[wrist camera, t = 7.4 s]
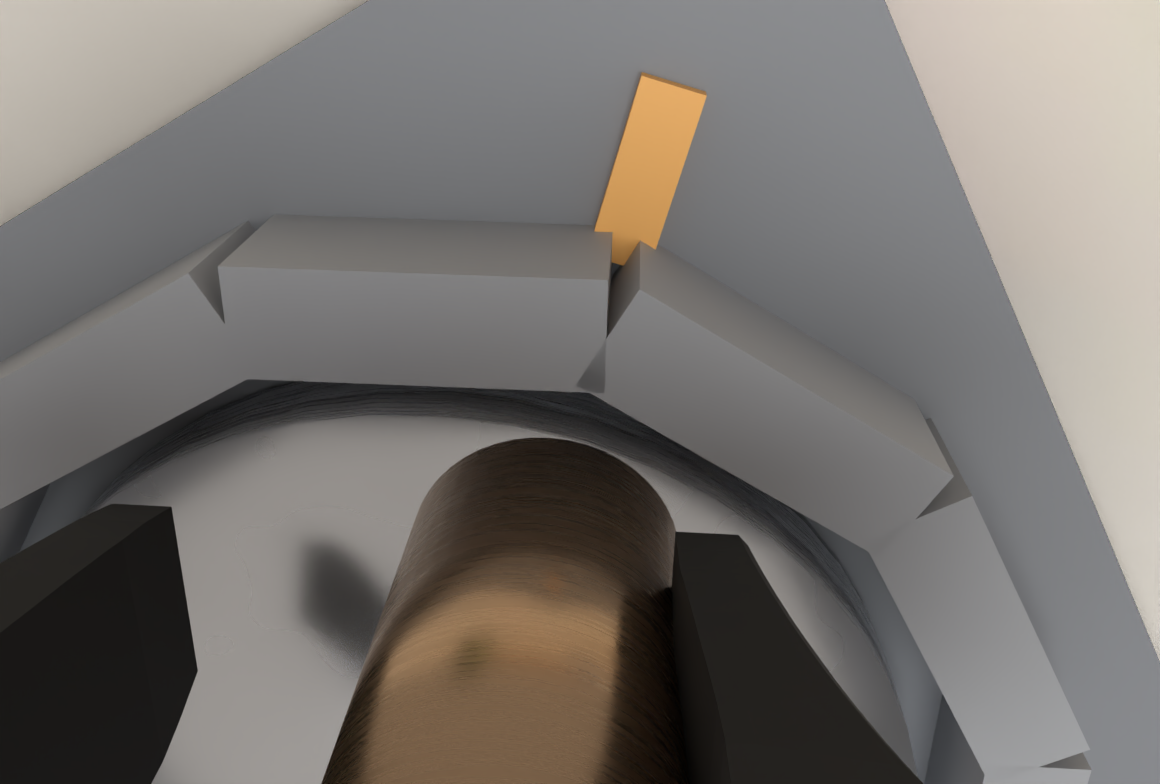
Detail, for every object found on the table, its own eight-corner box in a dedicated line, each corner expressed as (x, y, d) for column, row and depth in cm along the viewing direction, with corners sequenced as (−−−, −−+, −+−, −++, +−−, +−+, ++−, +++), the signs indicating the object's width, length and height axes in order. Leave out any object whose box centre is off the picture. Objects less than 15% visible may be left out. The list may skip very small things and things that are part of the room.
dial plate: (328, 1150, 22) (278, 1347, 19) (-371, 457, 16) (-604, 590, 13) (1234, 877, 18) (1353, 1078, 15) (764, -238, 11) (805, -276, 8)
